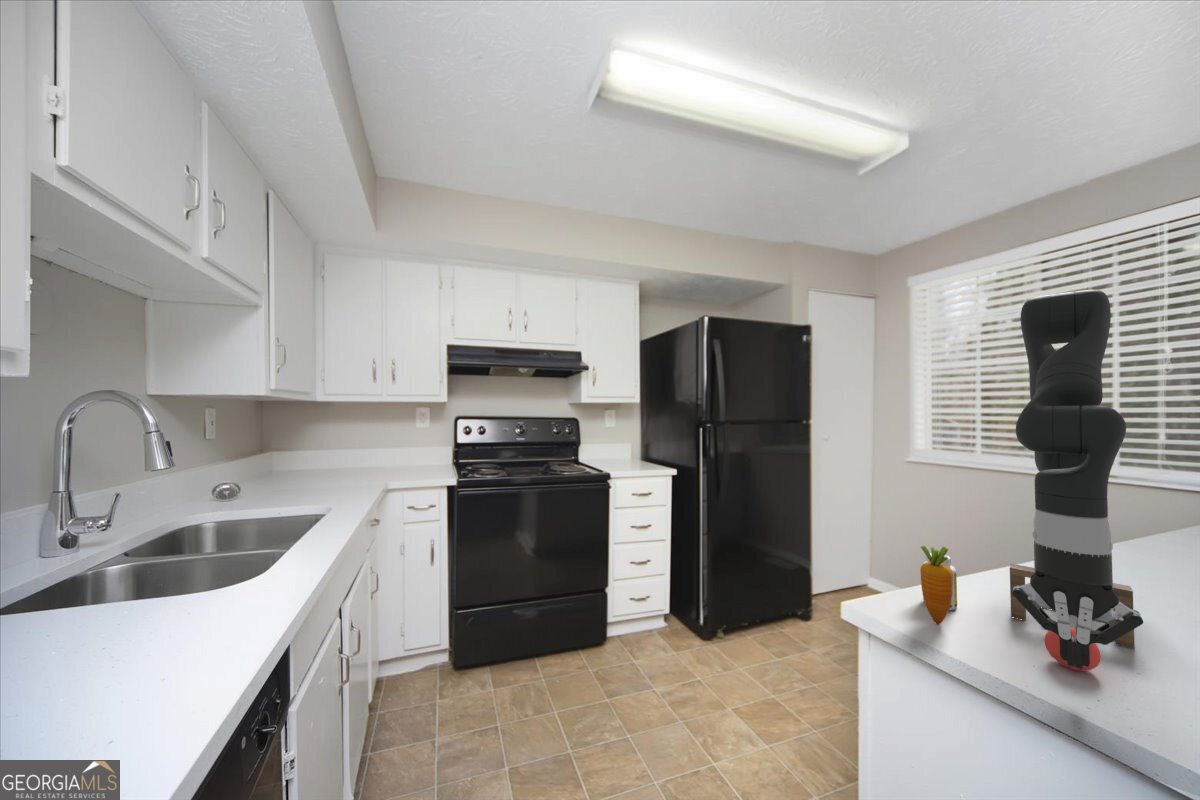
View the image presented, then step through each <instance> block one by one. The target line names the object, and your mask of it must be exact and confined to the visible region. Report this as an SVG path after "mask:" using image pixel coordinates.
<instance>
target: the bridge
mask: <svg viewBox="0 0 1200 800" xmlns="http://www.w3.org/2000/svg"><path fill="white" fill-rule="evenodd" d="M1034 572H1035V570H1034V567H1032V566H1026V565H1021V564H1016V563H1015V564H1014V563H1010V565H1009V588H1010V589H1009V591H1010V593H1009V594H1010V595H1009V597H1010V618H1011V617H1014V618H1013V619H1015V618H1018V619H1017V620H1019V619H1022V620H1021V621H1023V620H1025V621H1024V622H1026V621H1027V620H1026V619H1027V610H1026V609H1025V608H1024V606H1023V605H1022V604H1021V603H1020V602H1019V601H1018V600H1017V599H1016V597H1015V596H1014V595H1013V587H1014V586H1015V585H1019V586H1022V585H1025V584H1026V578H1029V579H1030V578H1031V577H1032V576H1033V574H1034ZM1113 589H1114V591H1115V592H1116V594H1117V595H1118V598H1119V602H1121V603H1122V604H1124V605H1125V606H1127V607H1128V608H1130V609H1133V610H1134V591H1133V589H1132V587H1131V585H1128V584H1121V583H1116V582H1113ZM1114 611H1115V608H1112V613H1113V612H1114ZM1112 619H1114V616H1113V615H1112ZM1114 642H1116V643H1115V645H1117V644H1118V645H1117V646H1122V647H1125V648H1129V649H1135V629H1133V630H1131V631H1130V632H1128V633H1126V634H1125V635H1123V636H1121V637H1119V638H1118V639H1116V640H1114Z"/></svg>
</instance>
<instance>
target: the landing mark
mask: <svg viewBox="0 0 1200 800" xmlns="http://www.w3.org/2000/svg"><path fill="white" fill-rule="evenodd" d="M1034 594H1035V596H1036V599H1035V602H1036V603H1037V604H1038V605H1039V606H1040V607H1043V608H1042V609H1044V608H1048V609H1051V608H1050V607H1049V606H1048V605H1047V604H1046V603H1045V601H1044V600H1043V599H1042V598H1041V597H1040V596H1039V594H1038V593H1037V592H1036V591H1034ZM1048 609H1047V610H1048ZM1051 611H1053V609H1052V610H1051ZM1112 619H1113V614H1112V612H1111V610H1109V611H1108V612H1106V613H1105V614H1104V615H1102V616H1101V617H1099V618H1097V619H1093V620H1092V621H1095V620H1097V622H1099V623H1104V622H1105V623H1104V624H1106V623H1107V622H1109V621H1111V620H1112Z"/></svg>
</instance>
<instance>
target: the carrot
mask: <svg viewBox="0 0 1200 800" xmlns="http://www.w3.org/2000/svg"><path fill="white" fill-rule="evenodd" d="M920 548H921V550H922V551H923V553H924V554H925V556H926V558H928V559H929V561H930V562H926V561H925V562H926V563H924V562H923V563H924V564H923V563H922V564H923V565H921V566H920V581H921V583H920V584H921V592H922V597H924V599H923V602H924V604H925V607H926V610H927V612H928V614H929V615H930V617H931V620H932V621H933V623H935V624H936V625H941V624H942V623H943V622H944V620H945V619H946V616H947V615H948V612H949V611H950V610H949V607H950V603H951V598H952V589H953V572H952V570H951V569H950V568H949V567H947V566H945V565H943V564H941V563H943V562H944V561H945V560H947V559H948V557H944V556H945V555H946V554H947V553H948V551H949V549H948V548H947V546H945V545H943V546H942V547H941V549H940V550H939V549H935V547H930V551H929V549H928V548H927V547H926V546H925V545H921V546H920ZM930 553H931V554H932V557H931V555H930ZM938 553H939V554H938Z"/></svg>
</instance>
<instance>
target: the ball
mask: <svg viewBox="0 0 1200 800" xmlns="http://www.w3.org/2000/svg"><path fill="white" fill-rule="evenodd" d="M1070 630H1071V633H1072V636H1073V638H1074V637H1076V628H1073V627H1070ZM1043 639H1044V641H1043V642H1044V647H1045V649H1046V651H1047V652H1048V654H1049V655H1050V656H1051V657H1052V658H1053V659H1054V660H1056V662H1057V663H1059V664H1061V666H1064V667H1066V668H1068V669H1072V670H1076V671H1085V672H1086V671H1091V670H1093V669H1095V668H1096V667H1098V666H1099V664H1100V663H1101V660H1102V654H1101V651H1100V648H1099V646H1098V645H1097V643H1092V644H1091V645H1090V646H1089V651H1090V664H1089V666H1088V667H1087V666H1083V670H1082V669H1079V668H1076V667H1072V666H1069V665H1067V661H1066V660H1063V659H1062V658H1061V656H1060V642H1059V636H1058V635H1057V634H1056V633H1054V632H1052V631H1048V630H1047V632H1046V633H1045V634H1044V638H1043ZM1074 660H1075V658H1074Z"/></svg>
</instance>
